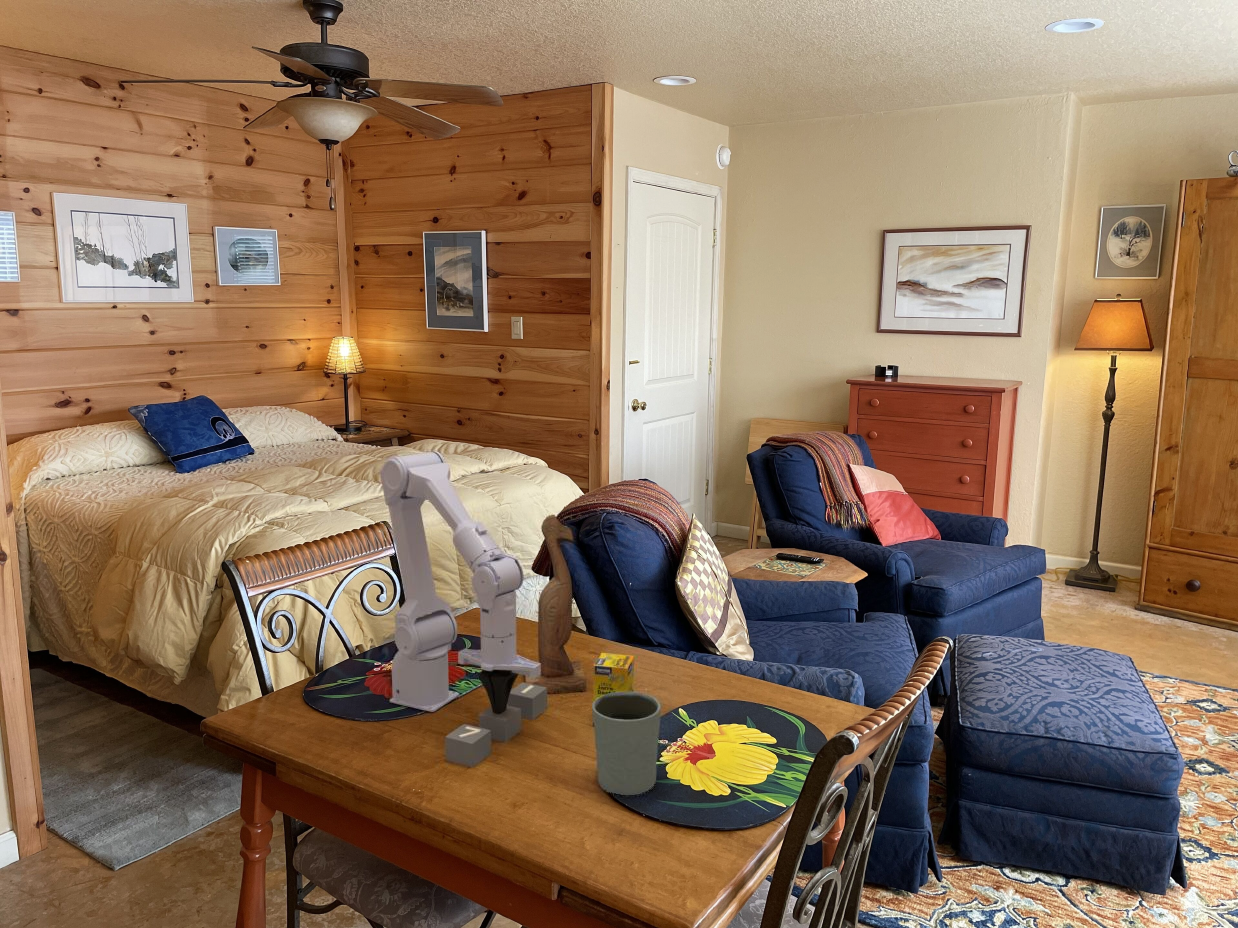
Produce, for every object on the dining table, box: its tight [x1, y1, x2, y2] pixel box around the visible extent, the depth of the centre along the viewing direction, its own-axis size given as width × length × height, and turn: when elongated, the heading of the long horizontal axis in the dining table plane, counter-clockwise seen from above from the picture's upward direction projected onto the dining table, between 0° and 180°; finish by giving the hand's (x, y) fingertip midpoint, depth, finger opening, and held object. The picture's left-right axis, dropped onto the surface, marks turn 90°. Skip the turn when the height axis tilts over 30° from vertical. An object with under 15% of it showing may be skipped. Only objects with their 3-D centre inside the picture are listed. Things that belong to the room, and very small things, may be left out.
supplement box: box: [592, 652, 635, 728], centre depth 154 cm, size 6×6×11 cm
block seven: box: [444, 723, 492, 768], centre depth 142 cm, size 5×5×4 cm
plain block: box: [478, 705, 522, 744], centre depth 150 cm, size 5×5×4 cm
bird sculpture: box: [524, 514, 587, 695], centre depth 169 cm, size 11×12×32 cm
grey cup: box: [591, 691, 662, 795], centre depth 135 cm, size 10×10×12 cm
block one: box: [507, 682, 548, 721], centre depth 158 cm, size 5×5×4 cm
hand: (499, 711), depth 150 cm, fingers closed
